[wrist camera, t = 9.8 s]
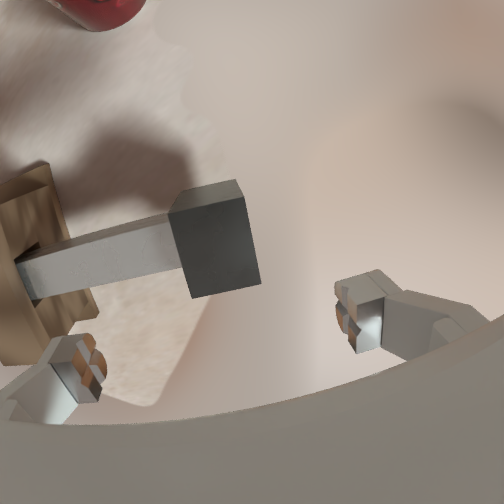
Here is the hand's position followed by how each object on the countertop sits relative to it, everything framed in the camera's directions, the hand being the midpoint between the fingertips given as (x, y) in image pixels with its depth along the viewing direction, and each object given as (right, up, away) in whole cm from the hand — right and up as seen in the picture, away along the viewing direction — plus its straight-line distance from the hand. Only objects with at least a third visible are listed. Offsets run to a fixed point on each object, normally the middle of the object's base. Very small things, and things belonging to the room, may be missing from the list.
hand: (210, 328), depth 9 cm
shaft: (-9, +3, +13) cm, 16 cm away
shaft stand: (-24, +2, +17) cm, 29 cm away
